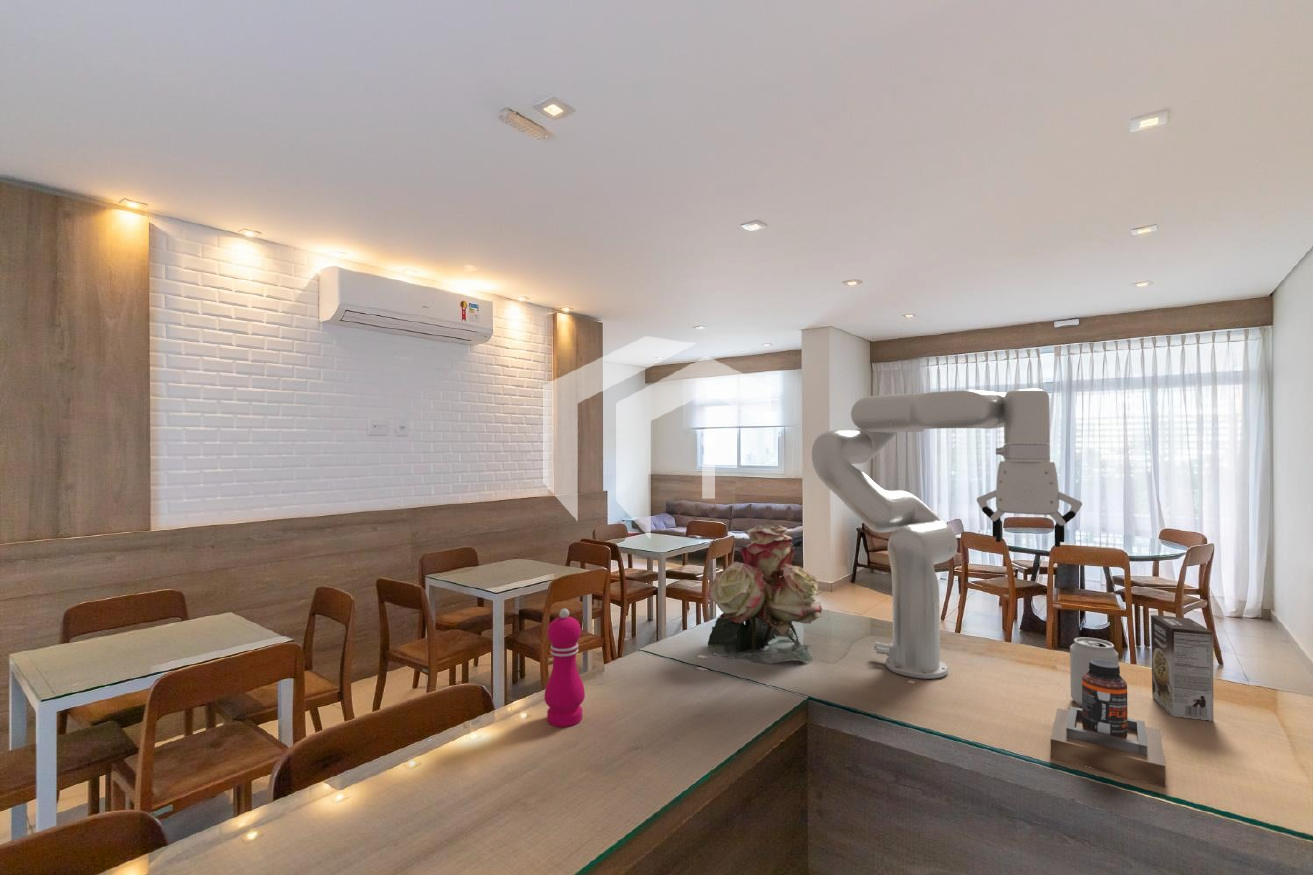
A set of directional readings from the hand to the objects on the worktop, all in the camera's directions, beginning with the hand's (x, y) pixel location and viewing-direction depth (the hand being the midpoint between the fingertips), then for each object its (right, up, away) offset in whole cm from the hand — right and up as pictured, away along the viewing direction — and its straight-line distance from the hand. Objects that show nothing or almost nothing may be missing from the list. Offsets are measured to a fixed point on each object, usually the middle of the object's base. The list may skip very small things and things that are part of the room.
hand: (1027, 543), depth 119 cm
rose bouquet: (-44, -31, +32) cm, 63 cm away
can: (+12, -30, -1) cm, 33 cm away
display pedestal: (+1, -30, -19) cm, 36 cm away
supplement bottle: (+1, -27, -19) cm, 33 cm away
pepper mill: (-88, -31, -6) cm, 93 cm away
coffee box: (+26, -30, -3) cm, 40 cm away
